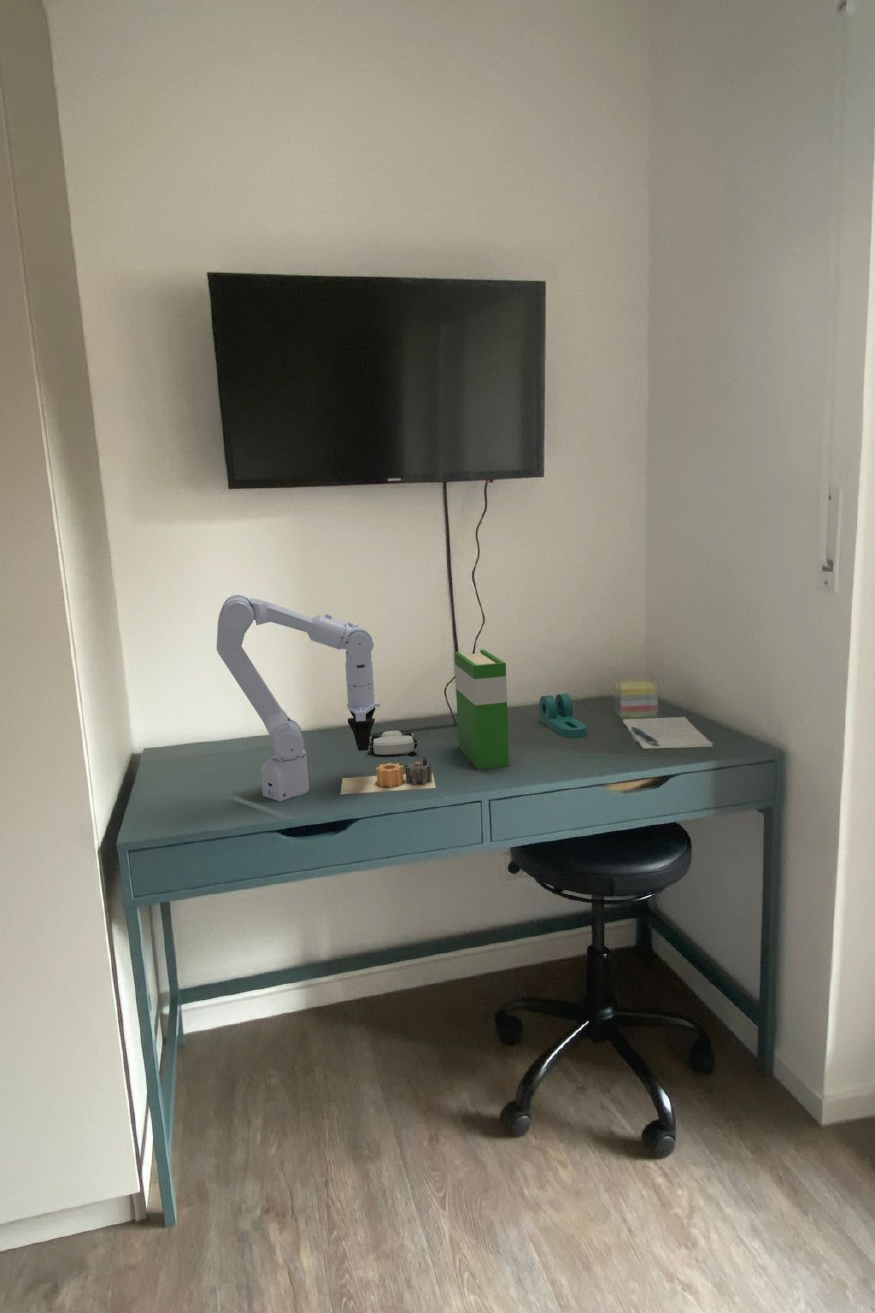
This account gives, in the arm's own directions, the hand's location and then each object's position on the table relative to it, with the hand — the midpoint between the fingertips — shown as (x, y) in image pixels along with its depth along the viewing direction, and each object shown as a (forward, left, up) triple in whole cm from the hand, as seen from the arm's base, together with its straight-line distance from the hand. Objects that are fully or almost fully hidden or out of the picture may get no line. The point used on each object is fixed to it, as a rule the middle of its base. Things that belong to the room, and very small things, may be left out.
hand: (363, 744), depth 176 cm
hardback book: (+30, -9, -10) cm, 33 cm away
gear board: (+2, -5, -9) cm, 11 cm away
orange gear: (+2, -5, -8) cm, 10 cm away
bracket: (+60, -12, -10) cm, 62 cm away
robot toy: (+21, +12, -10) cm, 26 cm away
